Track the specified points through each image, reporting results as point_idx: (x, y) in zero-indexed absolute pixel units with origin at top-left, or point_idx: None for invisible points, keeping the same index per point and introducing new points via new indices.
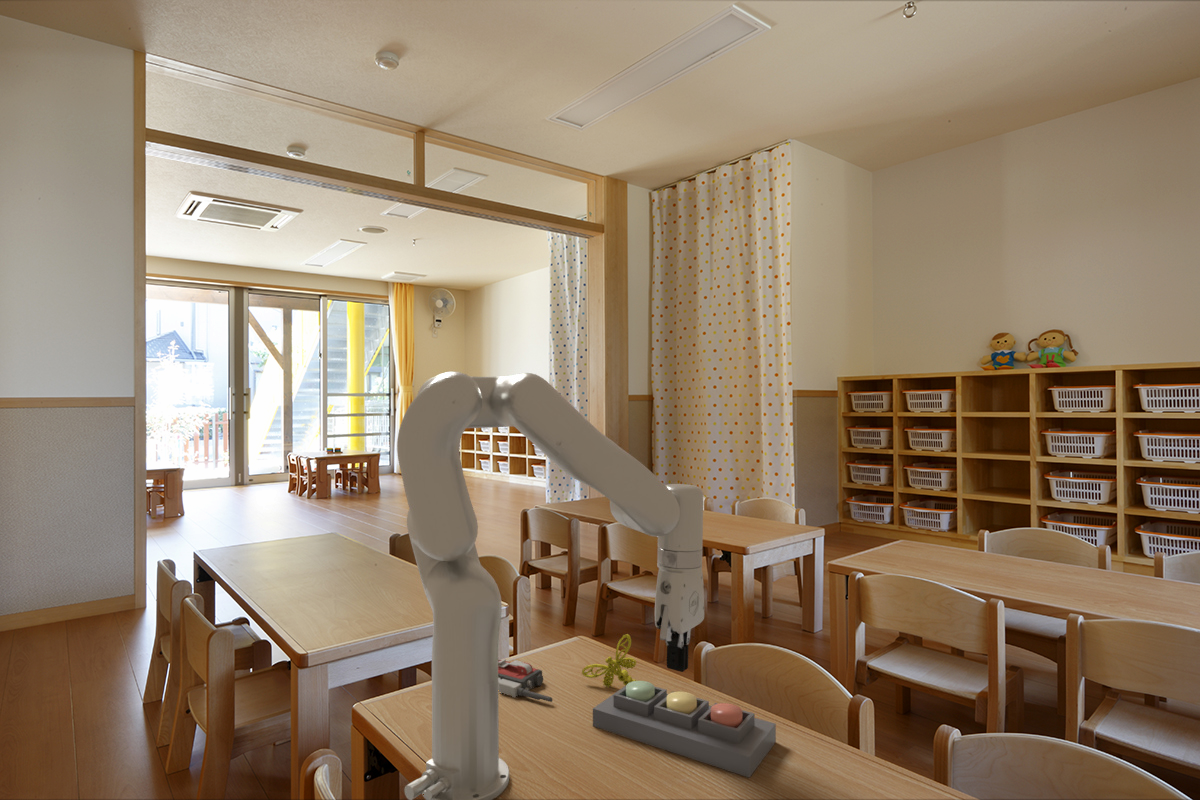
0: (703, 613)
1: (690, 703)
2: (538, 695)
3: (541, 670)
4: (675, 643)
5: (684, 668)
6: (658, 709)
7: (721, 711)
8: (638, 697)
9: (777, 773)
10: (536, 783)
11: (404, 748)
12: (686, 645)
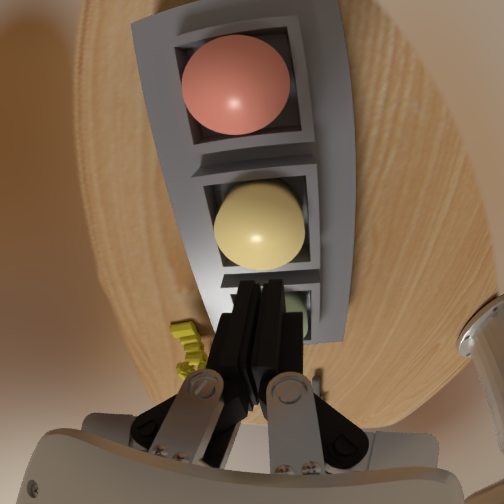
0: (41, 462)
1: (271, 197)
2: (318, 389)
3: None
4: (336, 411)
5: (275, 285)
6: (319, 255)
7: (253, 91)
8: (304, 311)
9: None
10: (486, 282)
11: (446, 382)
12: (229, 370)
